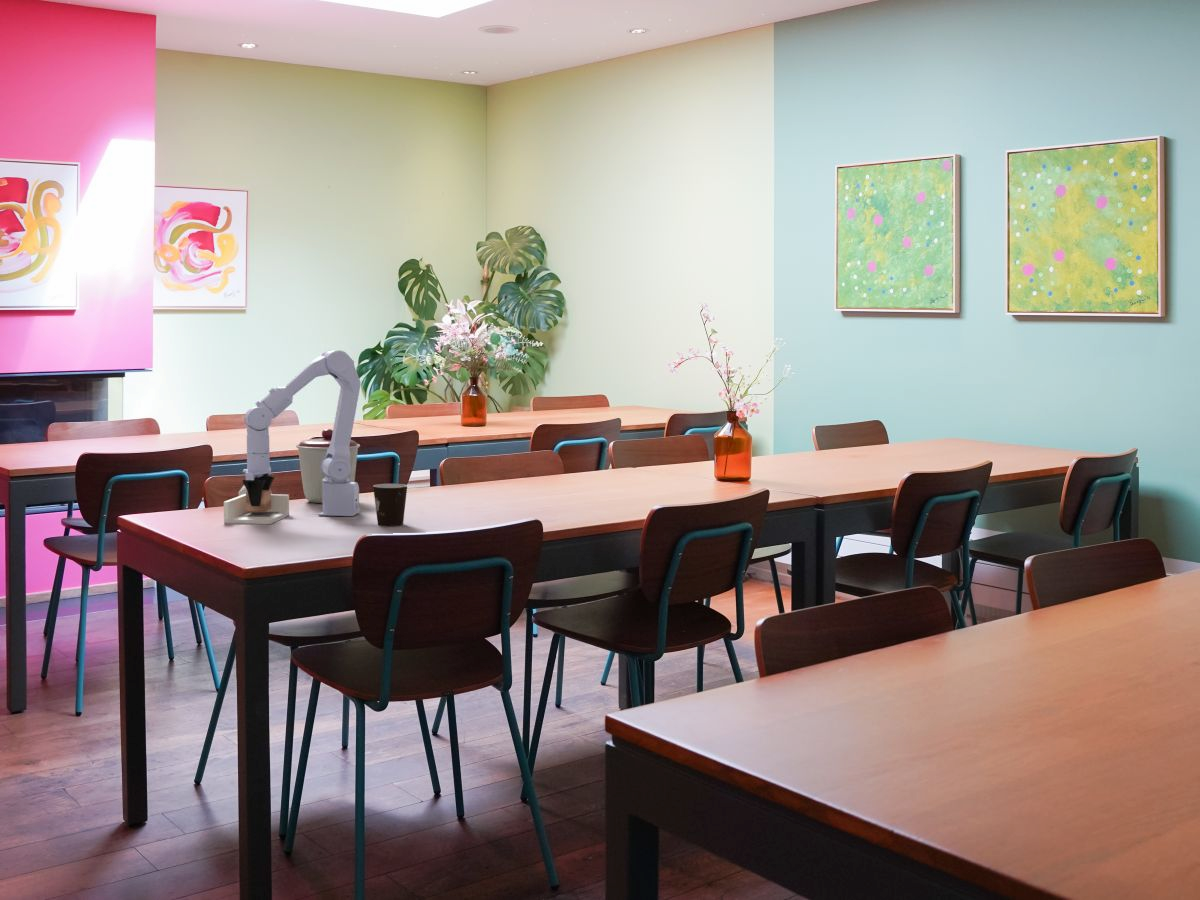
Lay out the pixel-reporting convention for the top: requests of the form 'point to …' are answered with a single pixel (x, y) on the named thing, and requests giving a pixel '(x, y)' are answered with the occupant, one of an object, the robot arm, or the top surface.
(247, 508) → the cube
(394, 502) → the coffee mug
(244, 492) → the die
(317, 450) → the canister
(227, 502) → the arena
